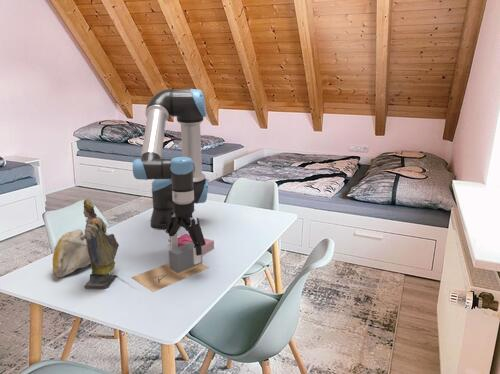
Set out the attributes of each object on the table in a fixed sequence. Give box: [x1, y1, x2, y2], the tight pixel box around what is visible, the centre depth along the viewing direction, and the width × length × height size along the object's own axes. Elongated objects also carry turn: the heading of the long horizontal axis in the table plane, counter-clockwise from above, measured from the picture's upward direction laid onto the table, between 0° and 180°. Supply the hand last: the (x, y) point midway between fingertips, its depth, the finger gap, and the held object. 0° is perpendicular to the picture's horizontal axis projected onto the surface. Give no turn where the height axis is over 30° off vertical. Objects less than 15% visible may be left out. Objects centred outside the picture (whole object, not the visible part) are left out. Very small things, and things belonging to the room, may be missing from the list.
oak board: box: [130, 262, 210, 293], centre depth 141 cm, size 24×14×1 cm, turn 136°
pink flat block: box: [168, 233, 215, 256], centre depth 163 cm, size 9×5×20 cm
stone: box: [52, 228, 109, 278], centre depth 148 cm, size 15×14×25 cm
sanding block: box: [168, 242, 203, 275], centre depth 144 cm, size 11×5×8 cm, turn 136°
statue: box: [80, 198, 120, 290], centre depth 134 cm, size 15×11×30 cm
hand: (185, 257), depth 143 cm, fingers open, 13 cm apart
